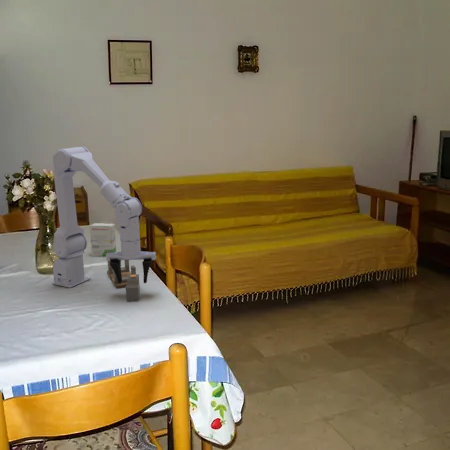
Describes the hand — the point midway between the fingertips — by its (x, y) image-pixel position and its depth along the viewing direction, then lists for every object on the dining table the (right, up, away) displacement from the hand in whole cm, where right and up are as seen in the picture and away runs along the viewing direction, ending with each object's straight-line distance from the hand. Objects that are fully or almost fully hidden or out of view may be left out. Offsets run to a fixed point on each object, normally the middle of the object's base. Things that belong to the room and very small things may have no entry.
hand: (132, 282), depth 162 cm
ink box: (-18, +6, +43) cm, 47 cm away
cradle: (-6, 0, +14) cm, 15 cm away
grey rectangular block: (0, -4, +1) cm, 4 cm away
